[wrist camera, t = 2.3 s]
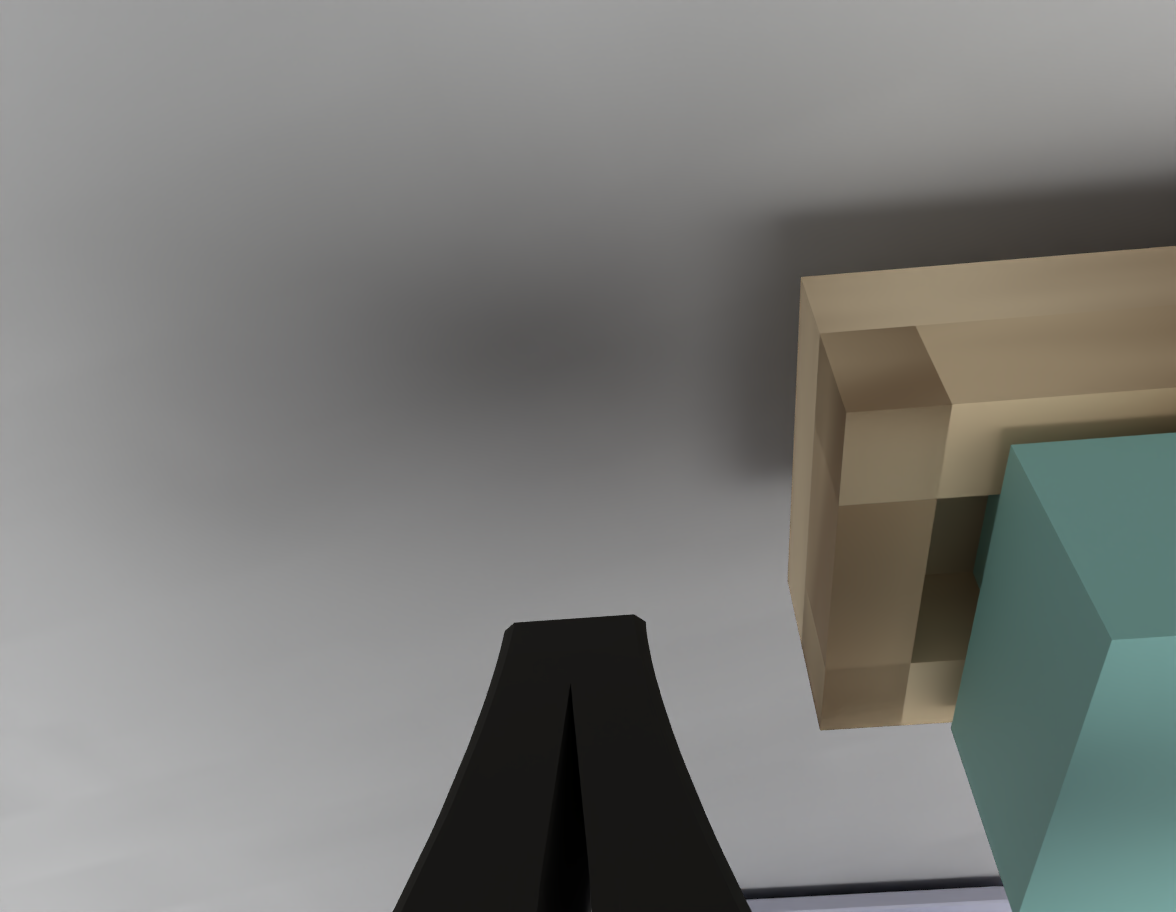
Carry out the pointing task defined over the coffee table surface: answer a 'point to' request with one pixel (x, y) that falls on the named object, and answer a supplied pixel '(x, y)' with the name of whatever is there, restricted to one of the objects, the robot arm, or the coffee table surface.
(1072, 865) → the teal cube
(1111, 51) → the coffee table surface
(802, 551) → the tan wooden slatted block
